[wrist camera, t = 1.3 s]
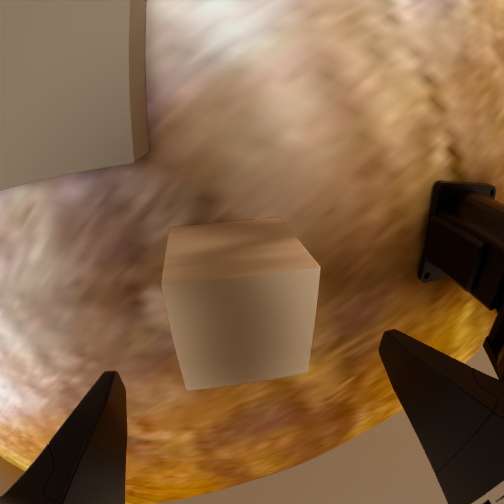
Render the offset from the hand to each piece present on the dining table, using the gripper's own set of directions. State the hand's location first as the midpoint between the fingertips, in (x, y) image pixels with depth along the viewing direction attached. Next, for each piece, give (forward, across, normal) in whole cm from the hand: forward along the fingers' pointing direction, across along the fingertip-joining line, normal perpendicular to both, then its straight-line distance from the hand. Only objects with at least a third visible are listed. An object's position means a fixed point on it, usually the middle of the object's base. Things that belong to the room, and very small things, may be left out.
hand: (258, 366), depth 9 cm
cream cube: (+6, 0, 0) cm, 6 cm away
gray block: (+7, +9, -12) cm, 17 cm away
